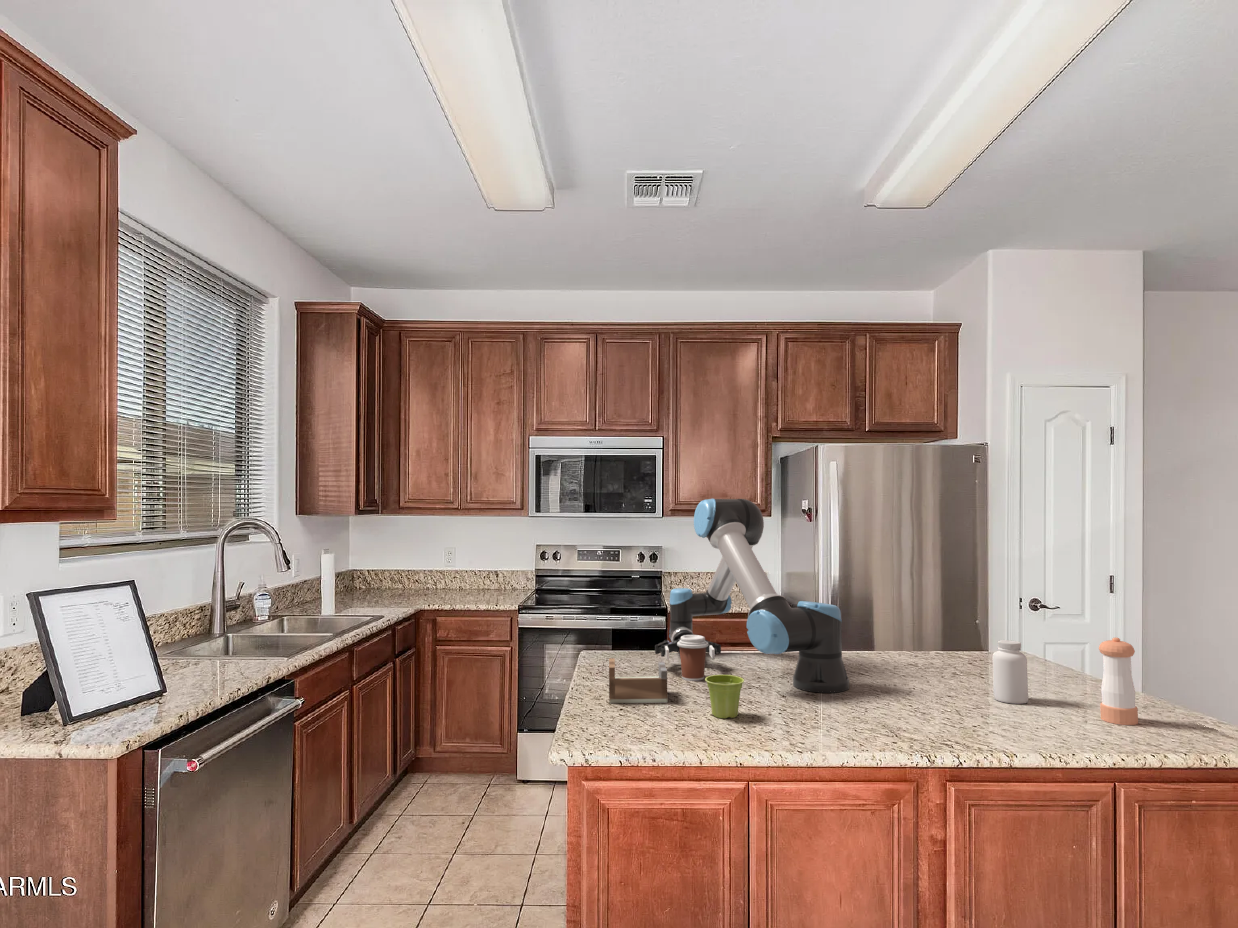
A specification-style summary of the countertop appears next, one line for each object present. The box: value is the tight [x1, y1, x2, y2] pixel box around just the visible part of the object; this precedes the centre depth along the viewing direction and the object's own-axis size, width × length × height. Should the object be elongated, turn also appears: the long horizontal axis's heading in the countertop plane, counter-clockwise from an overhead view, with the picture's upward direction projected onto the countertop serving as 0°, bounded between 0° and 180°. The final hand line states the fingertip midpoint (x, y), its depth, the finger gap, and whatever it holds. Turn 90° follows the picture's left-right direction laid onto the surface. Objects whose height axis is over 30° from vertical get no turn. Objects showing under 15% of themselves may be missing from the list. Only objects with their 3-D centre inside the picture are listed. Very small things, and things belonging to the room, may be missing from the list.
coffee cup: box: [677, 634, 708, 682], centre depth 220 cm, size 9×9×12 cm
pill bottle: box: [991, 639, 1029, 705], centre depth 194 cm, size 8×8×15 cm
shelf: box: [608, 657, 668, 704], centre depth 206 cm, size 24×15×9 cm, turn 1°
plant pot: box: [704, 674, 745, 719], centre depth 182 cm, size 9×9×9 cm
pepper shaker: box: [1098, 636, 1139, 726], centre depth 176 cm, size 7×7×19 cm
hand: (690, 654), depth 223 cm, fingers open, 13 cm apart
